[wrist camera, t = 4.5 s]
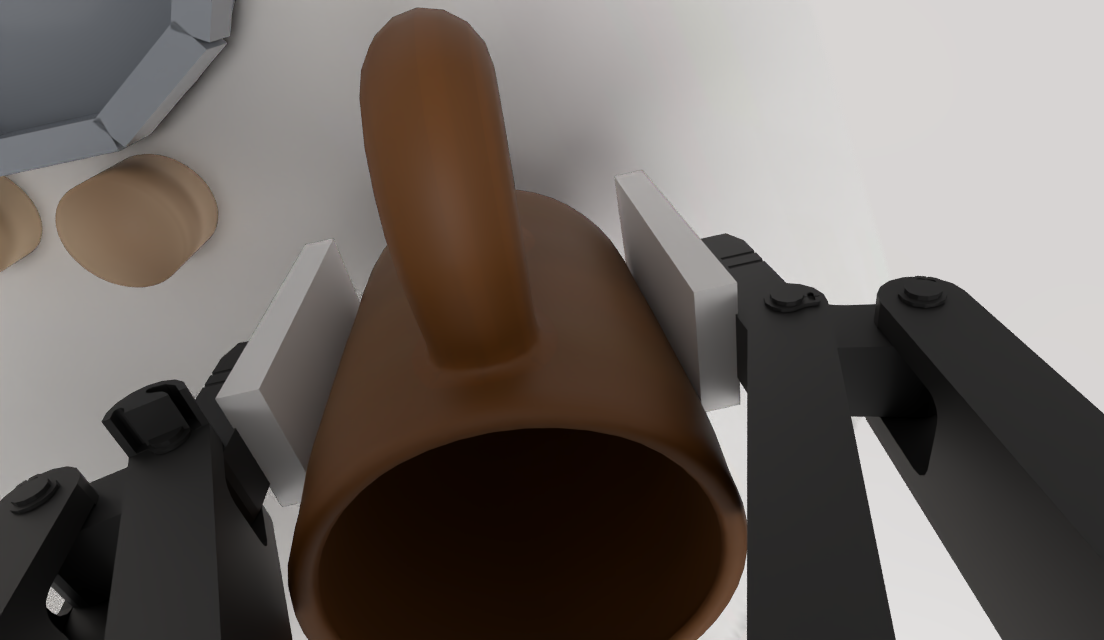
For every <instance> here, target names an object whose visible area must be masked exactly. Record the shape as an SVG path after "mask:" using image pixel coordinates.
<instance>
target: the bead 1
mask: <svg viewBox="0 0 1104 640" xmlns="http://www.w3.org/2000/svg"><path fill="white" fill-rule="evenodd" d="M41 236H42V223H41V219H40V215H39V213H38V211H37V209H36V207H35V205H34V204H33V202H32V201H31V200H30V198H29V197H28V196H27V195H26V194H25V192H24V191H23V190H22V189H20V188H19V187H18V186H17V185H16V184H15V183H13V182H12V181H11V180H9V179H8V178H6V177H5V176H1V177H0V272H1V271H3V270H4V269H6V268H8V267H9V266H11V265H12V264H14V263H15V262H17V261H19V260H20V259H22V258H23V257H25V256H26V255H28V254H29V253H31V252H32V251H33V250H34V249H35V248H36V247H37V246H38V244H39V242H40V240H41Z"/></svg>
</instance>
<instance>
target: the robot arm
mask: <svg viewBox="0 0 1104 640" xmlns="http://www.w3.org/2000/svg"><path fill="white" fill-rule="evenodd" d="M614 178H615V185H616V193H617V200H618V208H619V215H620V223H621V230H622V238H623V245H624V252H625V260H626V265H627V266H628V268H629V270H630V272H631V274H632V276H633V278H634V280H635V281H636V283H637V285H638V287H639V289H640V291H641V292H642V294H643V296H644V297H645V299H646V301H647V303H648V304H649V306H650V308H651V309H652V311H653V313H654V315H655V317H656V319H657V320H658V322H659V324H660V326H661V328H662V330H663V332H664V333H665V335H666V337H667V339H668V341H669V343H670V345H671V347H672V348H673V350H674V352H675V354H676V356H677V358H678V360H679V362H680V364H681V365H682V367H683V369H684V371H685V373H686V375H687V377H688V379H689V380H690V382H691V384H692V386H693V388H694V390H695V392H696V394H697V395H698V397H699V399H700V401H701V404H702V406H703V408H704V410H705V412H708V411H713V410H717V409H721V408H726V407H730V406H735V405H739V404H740V382H741V384H742V386H743V387H744V389H745V390H746V392H747V640H896V639H895V634H894V629H893V624H892V619H891V614H890V609H889V604H888V599H887V594H886V590H885V584H884V579H883V574H882V569H881V565H880V559H879V554H878V549H877V544H876V539H875V534H874V529H873V524H872V519H871V515H870V509H869V505H868V500H867V495H866V489H865V484H864V480H863V475H862V470H861V464H860V460H859V455H858V449H857V444H856V439H855V434H854V429H853V424H852V419H851V416H858V417H866V420H867V422H868V423H869V425H870V427H871V428H872V430H873V431H874V433H875V435H876V436H877V438H878V439H879V441H880V443H881V444H882V446H883V447H884V449H885V451H886V452H887V454H888V455H889V457H890V459H891V460H892V462H893V464H894V465H895V467H896V469H897V470H898V472H899V473H900V475H901V477H902V478H903V480H904V481H905V483H906V485H907V486H908V488H909V490H910V491H911V493H912V494H913V496H914V498H915V499H916V501H917V502H918V504H919V506H920V507H921V509H922V511H923V512H924V514H925V515H926V517H927V519H928V520H929V522H930V524H931V525H932V527H933V528H934V530H935V532H936V533H937V535H938V537H939V538H940V540H941V541H942V543H943V545H944V546H945V548H946V550H947V551H948V553H949V554H950V556H951V558H952V559H953V561H954V562H955V564H956V565H957V567H958V569H959V571H960V572H961V574H962V575H963V577H964V579H965V580H966V582H967V583H968V585H969V587H970V588H971V590H972V592H973V593H974V595H975V596H976V598H977V600H978V601H979V603H980V604H981V606H982V608H983V609H984V611H985V613H986V614H987V616H988V617H989V619H990V621H991V622H992V624H993V625H994V627H995V629H996V630H997V632H998V634H999V635H1000V637H1001V639H1002V640H1104V414H1103V413H1102V412H1101V411H1100V410H1099V409H1098V408H1097V407H1096V406H1094V405H1093V404H1092V403H1091V402H1090V401H1089V400H1088V399H1087V398H1085V397H1084V396H1083V395H1082V394H1081V393H1080V392H1079V391H1077V390H1076V389H1075V388H1074V387H1073V386H1072V385H1071V384H1070V383H1068V382H1067V381H1066V380H1065V379H1064V378H1063V377H1062V376H1061V375H1059V374H1058V373H1057V372H1056V371H1055V370H1054V369H1053V368H1051V367H1050V366H1049V365H1048V364H1047V363H1046V362H1045V361H1044V360H1042V359H1041V358H1040V357H1039V356H1038V355H1037V354H1036V353H1035V352H1033V351H1032V350H1031V349H1030V348H1029V347H1027V345H1026V344H1024V343H1023V342H1022V341H1021V340H1020V339H1019V338H1018V337H1016V336H1015V335H1014V334H1013V333H1012V332H1011V331H1010V330H1009V329H1007V328H1006V327H1005V326H1004V325H1003V324H1002V323H1001V322H1000V321H998V320H997V319H996V318H995V317H994V316H993V315H992V314H990V313H989V312H988V311H987V310H986V309H985V308H984V307H983V306H981V305H980V304H979V303H978V302H977V301H976V300H975V299H973V298H972V297H971V296H970V295H969V294H968V293H967V292H965V290H963V289H961V288H959V287H958V286H956V285H955V284H953V283H950V282H946V281H943V280H940V279H937V278H933V277H925V276H915V277H903V278H899V279H895V280H891V281H889V282H887V283H885V284H884V285H882V286H881V287H880V288H879V291H878V293H877V299H876V304H871V305H829V304H828V301H827V299H826V297H825V296H824V294H823V293H821V292H819V291H818V290H816V289H814V288H812V287H809V286H805V285H801V284H790V283H786V282H785V281H784V280H783V279H782V278H781V277H780V276H779V275H778V274H777V273H776V272H775V271H774V270H773V269H772V268H771V267H770V266H769V265H768V264H767V263H766V262H765V261H762V258H761V257H760V256H759V255H758V254H757V253H754V250H753V249H752V248H751V247H750V246H749V245H748V244H747V243H746V242H745V241H744V240H742V239H739V238H736V237H734V236H731V235H729V234H726V233H725V234H721V235H716V236H712V237H707V238H703V239H700V238H699V237H698V235H697V234H696V233H695V232H694V231H693V230H692V228H691V227H690V226H689V225H688V224H687V222H686V221H685V220H684V219H683V218H682V217H681V215H680V214H679V213H678V212H677V211H676V209H675V208H674V207H673V206H672V205H671V203H670V202H669V201H668V200H667V199H666V198H665V196H664V195H663V194H662V193H661V192H660V190H659V189H658V188H657V187H656V186H655V184H654V183H653V182H652V181H651V180H650V179H649V177H648V176H647V175H646V174H645V173H644V171H643V170H640V171H635V172H631V173H626V174H622V175H617V176H614ZM359 305H360V301H359V299H358V297H357V294H356V292H355V289H354V287H353V284H352V282H351V280H350V277H349V275H348V272H347V270H346V267H345V265H344V263H343V260H342V258H341V255H340V253H339V250H338V248H337V246H336V243H335V241H334V238H332V239H328V240H323V241H319V242H314V243H310V244H305V246H304V248H303V249H302V251H301V253H300V254H299V256H298V258H297V260H296V261H295V263H294V265H293V266H292V268H291V270H290V272H289V273H288V275H287V277H286V278H285V280H284V282H283V284H282V285H281V287H280V289H279V290H278V292H277V294H276V295H275V297H274V299H273V301H272V302H271V304H270V306H269V307H268V309H267V311H266V313H265V314H264V316H263V318H262V319H261V321H260V323H259V325H258V326H257V328H256V330H255V331H254V333H253V335H252V337H251V338H250V340H249V341H247V342H242V343H238V344H237V345H236V346H235V347H234V348H233V349H231V350H230V351H229V352H228V353H227V354H226V355H224V356H223V357H222V358H221V360H220V361H219V363H218V364H217V366H216V368H215V369H214V371H213V372H212V373H213V375H211V376H210V377H209V379H208V380H207V382H206V384H205V387H204V388H202V390H201V391H200V393H199V395H198V396H197V398H196V399H194V397H193V396H192V394H191V393H190V391H189V390H188V388H187V387H186V385H185V383H184V382H182V381H178V380H167V381H161V382H158V383H154V384H151V385H148V386H146V387H143V388H141V389H139V390H137V391H135V392H133V393H131V394H130V395H128V396H127V397H125V398H123V399H122V400H120V401H119V402H117V403H116V404H115V405H114V406H113V407H112V408H111V409H110V410H109V411H108V412H107V413H106V415H105V417H104V418H103V420H102V423H103V424H104V426H105V427H106V428H107V430H108V431H109V432H110V434H111V435H112V436H113V437H114V439H115V440H116V441H117V443H118V444H119V445H120V447H121V448H122V449H123V450H124V452H125V453H126V454H127V456H128V457H129V462H128V467H127V468H125V469H122V470H120V471H117V472H115V473H113V474H110V475H108V476H105V477H103V478H101V479H98V480H96V481H93V482H91V483H89V482H88V481H87V480H86V479H85V477H84V476H83V475H82V474H81V473H80V471H79V470H78V469H77V468H73V467H62V468H56V469H52V470H50V471H47V472H45V473H42V474H37V475H35V476H33V477H31V478H29V480H28V481H27V480H25V481H24V482H22V483H21V484H19V485H18V486H16V488H15V489H14V490H13V491H11V492H10V493H9V494H8V495H6V496H5V497H4V498H3V499H2V500H1V501H0V640H292V634H291V628H290V622H289V616H288V610H287V605H286V599H285V593H284V587H283V581H282V575H281V569H280V563H279V557H278V552H277V546H276V540H275V534H274V528H273V522H272V519H271V517H270V516H269V514H268V512H267V511H266V509H265V508H264V506H263V505H262V504H263V501H264V499H265V496H266V493H267V491H268V488H269V487H270V488H271V490H272V491H273V493H274V495H275V496H276V498H277V500H278V501H279V503H280V504H281V506H282V507H284V506H289V505H293V504H297V503H301V498H302V493H303V487H304V482H305V477H306V472H307V466H308V462H309V458H310V455H311V451H312V447H313V444H314V441H315V438H316V435H317V432H318V429H319V425H320V422H321V419H322V416H323V413H324V410H325V407H326V404H327V401H328V398H329V394H330V391H331V388H332V385H333V382H334V379H335V376H336V373H337V370H338V367H339V364H340V360H341V357H342V354H343V351H344V348H345V345H346V343H347V340H348V337H349V334H350V332H351V329H352V326H353V324H354V321H355V318H356V315H357V312H358V309H359ZM50 587H52V588H53V589H54V590H55V591H56V592H57V593H58V594H59V595H60V596H61V597H63V598H64V599H65V602H64V604H63V606H62V608H61V610H60V612H59V613H58V614H57V615H56V614H54V613H52V612H51V611H50V610H49V609H47V608H46V599H47V595H48V592H49V589H50Z"/></svg>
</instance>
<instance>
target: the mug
mask: <svg viewBox="0 0 1104 640" xmlns="http://www.w3.org/2000/svg"><path fill="white" fill-rule="evenodd" d="M360 107H361V117H362V127H363V137H364V146H365V153H366V157H367V162H368V167H369V172H370V177H371V182H372V187H373V192H374V197H375V201H376V205H377V208H378V212H379V216H380V220H381V224H382V228H383V232H384V236H385V239H386V242H387V246H386V247H385V249H384V250H383V252H382V254H381V255H380V257H379V259H378V261H377V262H376V264H375V266H374V268H373V270H372V272H371V275H370V277H369V280H368V283H367V285H366V288H365V290H364V293H363V296H362V299H361V302H360V305H359V309H358V312H357V315H356V318H355V321H354V324H353V326H352V329H351V332H350V334H349V337H348V340H347V343H346V345H345V348H344V351H343V354H342V357H341V360H340V364H339V367H338V370H337V373H336V376H335V379H334V382H333V385H332V388H331V391H330V394H329V398H328V401H327V404H326V407H325V410H324V413H323V416H322V419H321V422H320V425H319V429H318V432H317V435H316V438H315V441H314V444H313V447H312V451H311V455H310V458H309V462H308V466H307V472H306V477H305V482H304V487H303V493H302V498H301V504H300V509H299V515H298V518H297V522H296V526H295V531H294V536H293V541H292V546H291V552H290V557H289V562H288V587H289V592H290V596H291V600H292V605H293V609H294V612H295V616H296V618H297V620H298V622H299V624H300V626H301V629H302V631H303V633H304V634H305V636H306V637H307V638H308V640H697V639H698V638H699V637H701V636H702V635H703V634H704V633H705V631H706V630H707V629H708V628H709V627H710V626H711V625H712V624H713V623H714V622H715V621H716V620H717V618H718V617H719V616H720V614H721V613H722V612H723V610H724V609H725V607H726V606H727V605H728V603H729V601H730V600H731V598H732V596H733V594H734V592H735V590H736V588H737V587H738V584H739V581H740V578H741V575H742V573H743V570H744V565H745V560H746V554H747V519H746V515H745V511H744V506H743V502H742V500H741V497H740V495H739V492H738V489H737V487H736V485H735V483H734V481H733V478H732V476H731V474H730V472H729V469H728V467H727V464H726V461H725V458H724V456H723V453H722V450H721V448H720V445H719V442H718V440H717V437H716V434H715V432H714V430H713V427H712V425H711V423H710V421H709V419H708V416H707V414H706V412H705V410H704V408H703V406H702V404H701V401H700V399H699V397H698V395H697V394H696V392H695V390H694V388H693V386H692V384H691V382H690V380H689V379H688V377H687V375H686V373H685V371H684V369H683V367H682V365H681V364H680V362H679V360H678V358H677V356H676V354H675V352H674V350H673V348H672V347H671V345H670V343H669V341H668V339H667V337H666V335H665V333H664V332H663V330H662V328H661V326H660V324H659V322H658V320H657V319H656V317H655V315H654V313H653V311H652V309H651V308H650V306H649V304H648V303H647V301H646V299H645V297H644V296H643V294H642V292H641V291H640V289H639V287H638V285H637V283H636V281H635V280H634V278H633V276H632V274H631V272H630V270H629V268H628V266H627V265H626V263H625V261H624V260H623V258H622V256H621V255H620V253H619V252H618V250H617V249H616V247H615V246H614V245H613V243H612V242H611V240H610V239H609V238H608V237H607V236H606V235H605V234H604V233H603V232H602V230H601V229H600V228H599V227H598V226H596V225H595V224H594V223H593V222H592V221H590V220H589V219H588V218H587V217H585V216H584V215H583V214H581V213H579V212H578V211H576V210H575V209H573V208H571V207H570V206H568V205H566V204H564V203H562V202H559V201H557V200H555V199H553V198H550V197H547V196H544V195H540V194H537V193H533V192H527V191H521V190H515V185H514V179H513V173H512V167H511V161H510V154H509V148H508V142H507V136H506V130H505V124H504V118H503V113H502V107H501V101H500V95H499V90H498V84H497V79H496V73H495V69H494V65H493V62H492V60H491V57H490V54H489V52H488V49H487V46H486V44H485V42H484V41H483V39H482V38H481V37H480V36H479V35H478V34H477V33H476V31H475V30H474V29H473V28H472V27H471V26H470V24H469V23H468V22H466V21H464V20H462V19H460V18H459V17H457V16H455V15H453V14H451V13H449V12H447V11H445V10H440V9H428V8H414V9H412V10H409V11H407V12H404V13H402V14H399V15H397V16H394V17H392V18H391V20H390V21H389V22H388V23H387V24H386V25H385V26H384V27H383V28H382V29H381V30H380V31H379V32H378V33H377V34H376V35H375V36H374V38H373V40H372V42H371V45H370V47H369V49H368V52H367V55H366V58H365V61H364V63H363V66H362V69H361V80H360Z"/></svg>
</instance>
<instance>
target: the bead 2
mask: <svg viewBox="0 0 1104 640" xmlns="http://www.w3.org/2000/svg"><path fill="white" fill-rule="evenodd" d="M217 221H218V209H217V204H216V201H215V198H214V196H213V194H212V192H211V190H210V189H209V187H208V186H207V184H206V183H205V182H204V181H203V180H202V178H201V177H200V176H199V175H198V174H196V173H195V172H194V171H193V170H191V169H190V168H189V167H187V166H186V165H184V164H182V163H180V162H178V161H176V160H174V159H171V158H168V157H165V156H161V155H154V154H142V155H136V156H132V157H129V158H127V159H125V160H123V161H121V162H119V163H118V164H116V165H114V166H112V167H110V168H108V169H107V170H105V171H103V172H101V173H99V174H97V175H96V176H94V177H92V178H90V179H88V180H86V181H85V182H83V183H81V184H79V185H77V186H75V187H74V188H72V189H71V190H69V191H68V192H67V193H66V194H65V195H64V196H63V197H62V199H61V200H60V202H59V204H58V207H57V210H56V228H57V231H58V235H59V237H60V239H61V242H62V243H63V245H64V247H65V248H66V250H67V251H68V252H69V254H70V255H71V256H72V257H73V258H74V259H75V260H76V261H77V262H78V263H79V264H80V265H81V266H82V267H84V268H85V269H86V270H88V271H89V272H91V273H92V274H94V275H96V276H97V277H99V278H101V279H103V280H106V281H108V282H111V283H114V284H118V285H122V286H127V287H148V286H153V285H156V284H159V283H161V282H164V281H165V280H167V279H168V278H170V277H171V276H172V275H173V274H174V273H175V272H176V271H177V270H178V269H179V268H180V267H181V266H182V265H183V264H184V263H185V262H186V261H187V260H188V259H189V258H190V257H191V256H192V255H193V254H194V253H195V252H196V251H197V250H198V249H199V248H200V247H201V246H202V245H203V244H204V243H205V242H206V241H207V240H208V239H209V238H210V237H211V236H212V234H213V233H214V231H215V229H216V226H217Z"/></svg>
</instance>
